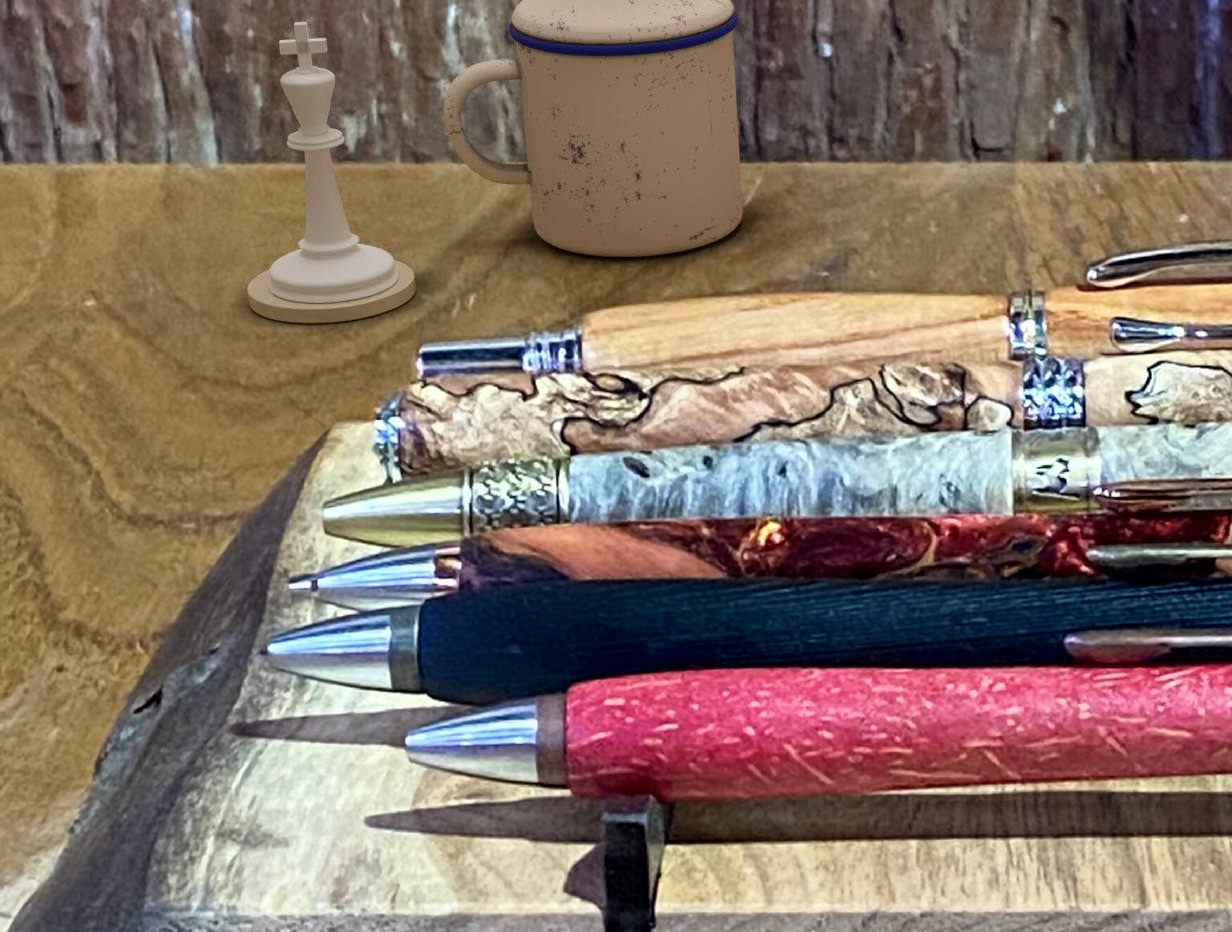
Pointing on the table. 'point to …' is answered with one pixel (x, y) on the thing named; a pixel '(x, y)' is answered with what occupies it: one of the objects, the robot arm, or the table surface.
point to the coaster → (330, 312)
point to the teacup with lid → (619, 123)
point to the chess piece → (322, 198)
